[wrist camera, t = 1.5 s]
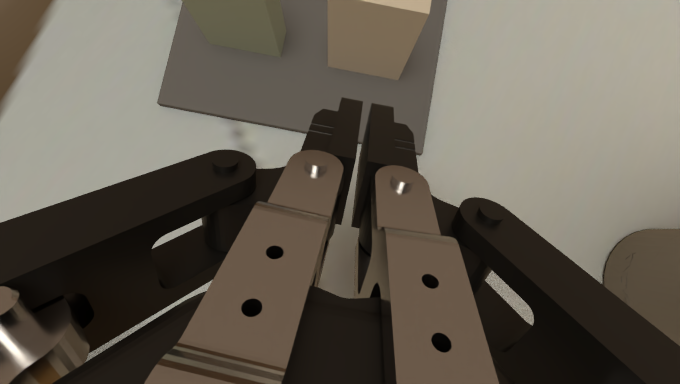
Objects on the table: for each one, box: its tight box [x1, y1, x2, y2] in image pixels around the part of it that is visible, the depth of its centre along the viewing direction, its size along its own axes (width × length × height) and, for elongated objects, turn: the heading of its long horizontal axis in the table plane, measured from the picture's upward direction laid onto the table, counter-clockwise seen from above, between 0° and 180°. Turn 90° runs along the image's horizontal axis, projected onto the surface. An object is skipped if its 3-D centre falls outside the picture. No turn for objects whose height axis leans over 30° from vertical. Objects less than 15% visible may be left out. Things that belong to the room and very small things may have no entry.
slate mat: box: [157, 0, 447, 155], centre depth 29 cm, size 22×16×1 cm
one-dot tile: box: [182, 0, 286, 57], centre depth 24 cm, size 6×3×9 cm, turn 79°
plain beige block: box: [328, 0, 432, 80], centre depth 25 cm, size 6×3×9 cm, turn 79°
